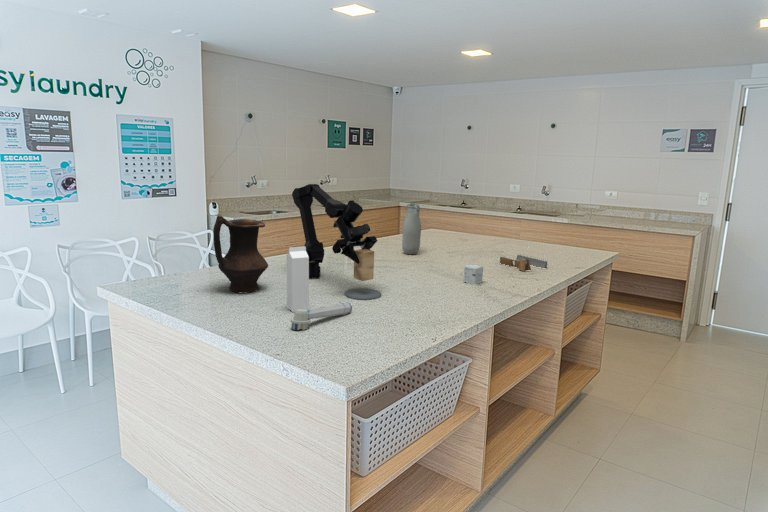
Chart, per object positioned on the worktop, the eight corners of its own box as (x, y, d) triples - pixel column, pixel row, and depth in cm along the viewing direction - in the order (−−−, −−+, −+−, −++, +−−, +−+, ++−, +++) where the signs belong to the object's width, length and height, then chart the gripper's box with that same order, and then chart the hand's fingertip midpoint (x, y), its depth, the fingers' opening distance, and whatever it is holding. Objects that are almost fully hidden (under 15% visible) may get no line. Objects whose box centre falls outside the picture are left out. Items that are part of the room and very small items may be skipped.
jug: (253, 281, 214) (251, 209, 208) (277, 290, 201) (276, 214, 195) (204, 289, 199) (201, 212, 193) (227, 299, 186) (225, 218, 180)
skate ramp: (561, 270, 255) (562, 256, 253) (512, 278, 236) (513, 262, 234) (516, 259, 278) (517, 246, 277) (468, 265, 259) (469, 251, 258)
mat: (349, 300, 190) (349, 298, 190) (341, 291, 203) (341, 289, 203) (385, 298, 194) (385, 296, 194) (375, 289, 207) (375, 287, 207)
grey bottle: (400, 255, 278) (402, 203, 273) (403, 251, 288) (405, 202, 282) (418, 256, 277) (421, 204, 271) (420, 252, 286) (423, 202, 281)
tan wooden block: (353, 278, 197) (354, 250, 195) (364, 276, 201) (365, 248, 199) (362, 281, 193) (363, 252, 191) (373, 279, 197) (374, 251, 195)
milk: (308, 310, 177) (309, 248, 173) (292, 312, 174) (292, 249, 170) (302, 305, 182) (303, 244, 178) (286, 307, 179) (286, 245, 175)
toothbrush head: (354, 303, 174) (300, 309, 154) (352, 322, 175) (298, 331, 155) (342, 300, 177) (288, 306, 157) (340, 319, 178) (286, 327, 158)
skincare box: (463, 282, 223) (464, 266, 221) (470, 280, 227) (471, 264, 226) (474, 285, 219) (476, 268, 217) (482, 283, 223) (483, 266, 222)
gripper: (337, 218, 190) (355, 252, 184) (375, 215, 202) (393, 247, 196) (324, 236, 197) (341, 269, 191) (361, 232, 210) (378, 263, 204)
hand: (364, 262), depth 196 cm, fingers closed on tan wooden block, 5 cm apart
